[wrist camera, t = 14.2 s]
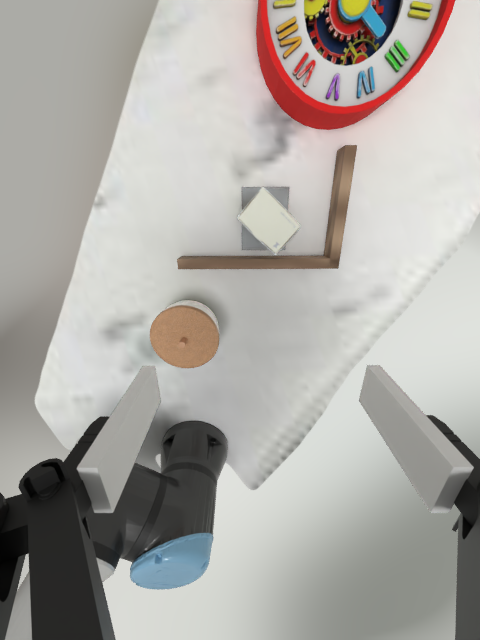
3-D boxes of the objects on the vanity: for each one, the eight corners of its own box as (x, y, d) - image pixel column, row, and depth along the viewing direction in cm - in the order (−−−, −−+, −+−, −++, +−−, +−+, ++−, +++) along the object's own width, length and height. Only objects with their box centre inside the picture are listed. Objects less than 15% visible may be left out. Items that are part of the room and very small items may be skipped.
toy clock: (219, 12, 25) (373, -273, 19) (223, 47, 31) (344, -166, 24) (349, 155, 30) (505, -34, 24) (333, 164, 35) (457, 11, 29)
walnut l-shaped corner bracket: (331, 264, 41) (338, 268, 38) (182, 265, 41) (178, 269, 38) (347, 150, 35) (357, 145, 32) (171, 152, 35) (165, 146, 32)
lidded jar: (164, 288, 43) (144, 307, 34) (225, 295, 43) (221, 316, 35) (163, 342, 47) (146, 370, 38) (219, 348, 47) (214, 378, 39)
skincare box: (286, 223, 38) (305, 227, 27) (266, 245, 39) (276, 257, 28) (257, 193, 36) (264, 183, 25) (237, 217, 38) (235, 218, 27)
